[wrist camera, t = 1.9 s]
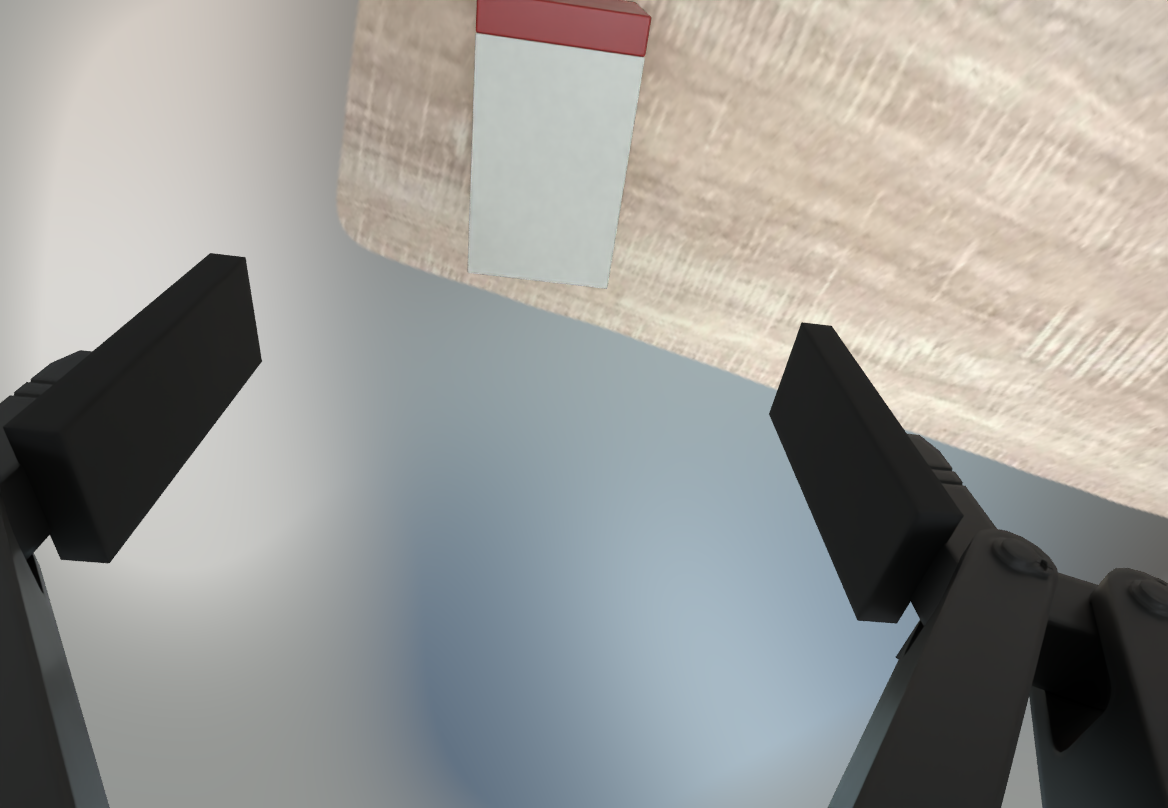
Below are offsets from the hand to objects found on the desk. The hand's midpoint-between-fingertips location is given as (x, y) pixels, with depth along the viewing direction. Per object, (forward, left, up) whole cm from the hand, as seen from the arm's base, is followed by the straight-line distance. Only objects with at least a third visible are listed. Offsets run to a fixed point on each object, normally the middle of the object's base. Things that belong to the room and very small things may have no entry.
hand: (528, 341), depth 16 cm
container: (0, 0, -25) cm, 25 cm away
